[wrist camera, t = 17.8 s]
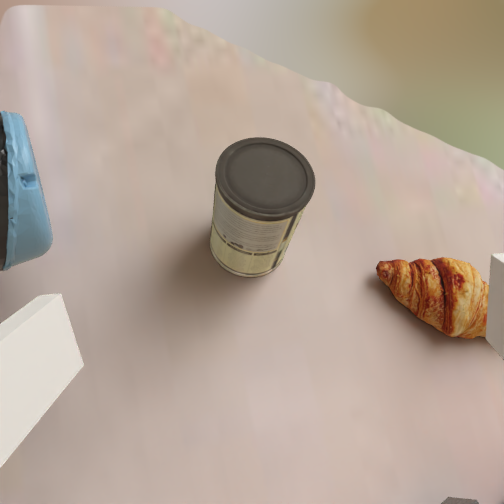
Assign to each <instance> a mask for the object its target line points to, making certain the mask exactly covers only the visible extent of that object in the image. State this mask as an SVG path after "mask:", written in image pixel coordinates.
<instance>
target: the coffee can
mask: <svg viewBox="0 0 504 504" xmlns="http://www.w3.org/2000/svg"><path fill="white" fill-rule="evenodd" d="M215 177H216V184H215V194H214V207H213V217H212V226H211V235H210V248H211V251H212V254H213V256H214V258H215V259H216V261H217V262H218V263H219V264H220V265H221V266H222V267H223V268H224V269H226V270H227V271H229V272H231V273H233V274H235V275H239V276H243V277H258V276H262V275H265V274H268V273H270V272H271V271H273V270H274V269H276V268H277V267H278V265H280V263H281V261H282V260H283V257H284V255H285V251H286V249H287V247H288V245H289V243H290V240H291V238H292V236H293V234H294V231H295V229H296V227H297V225H298V223H299V220H300V218H301V216H302V214H303V211H304V209H305V207H306V205H307V204H308V202H309V201H310V199H311V197H312V195H313V192H314V189H315V176H314V172H313V170H312V167H311V165H310V164H309V162H308V161H307V159H306V158H305V157H304V156H303V155H302V154H301V153H300V152H299V151H297V150H296V149H295V148H293V147H291V146H290V145H288V144H286V143H284V142H281V141H278V140H275V139H270V138H258V137H255V138H248V139H244V140H240V141H238V142H236V143H234V144H232V145H230V146H229V147H228V148H226V149H225V150H224V151H223V153H222V154H221V156H220V157H219V159H218V161H217V165H216V172H215Z"/></svg>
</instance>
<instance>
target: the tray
mask: <svg viewBox="0 0 504 504" xmlns="http://www.w3.org/2000/svg"><path fill="white" fill-rule="evenodd" d="M441 504H479V503H478V502H477V500H472V499H462V498H452V497H448V498H447V499H446V500H445V501H444V502H442V503H441Z"/></svg>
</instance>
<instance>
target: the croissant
mask: <svg viewBox="0 0 504 504" xmlns="http://www.w3.org/2000/svg"><path fill="white" fill-rule="evenodd" d="M376 270H377V275H378V276H379V279H380V280H382V281H383V282H384V283H385V285H387V286H388V287H389V288H390V289H391V292H392V293H393V295H394V296H395V298H396V299H397V300H398V301H399V302H400V303H402V304H403V305H404V306H406V307H407V308H409V309H410V310H411V311H412V312H413V313H414V314H415V315H416V316H417V317H418V318H419V319H421V320H423V321H425V322H426V323H428V324H431V325H432V326H434V327H435V328H436V329H438V330H439V331H441V332H443V333H444V334H446V335H448V336H450V337H455V336H457V337H462V338H467V339H473V338H475V337H476V336H481V337H486V324H487V309H488V294H489V285H487V283H486V282H484V281H482V279H481V276H480V274H479V272H478V271H477V270H476V269H475V268H473V267H472V266H471V265H470V263H465V262H463V261H459V260H455V259H452V258H443V257H442V258H437V259H433V260H426V259H418V260H415V261H413V262H410V263H408V262H407V261H405V260H399V259H397V260H392V261H380V262H379V263H378V265H377V267H376Z"/></svg>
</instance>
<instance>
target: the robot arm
mask: <svg viewBox="0 0 504 504" xmlns="http://www.w3.org/2000/svg"><path fill="white" fill-rule="evenodd" d="M52 240H53V235H52V229H51V224H50V219H49V215H48V211H47V206H46V202H45V198H44V193H43V189H42V185H41V181H40V177H39V173H38V169H37V165H36V161H35V157H34V153H33V149H32V146H31V142H30V138H29V134H28V131H27V128H26V125H25V122H24V119H23V117H22V116H21V115H20V114H17V113H8V112H5V111H2V112H0V271H5V270H8V269H10V268H11V266H14V265H17V264H20V263H23V262H26V261H29V260H32V259H35V258H38V257H40V256H42V255H44V254H45V253H46V252H47V251H48V250H49V248H50V246H51V244H52ZM486 340H487V341H488V342H489V344H490V345H491V346H492V347H493V348H494V349H495V350H496V352H497V353H498V354H499V355H500V356H501V357H502V358H503V360H504V253H500V254H491V264H490V279H489V294H488V309H487V324H486ZM83 366H84V364H83V361H82V358H81V354H80V351H79V348H78V345H77V342H76V339H75V336H74V333H73V330H72V326H71V323H70V320H69V317H68V314H67V311H66V308H65V305H64V302H63V298H62V295H61V293H59V294H48V295H39V296H38V297H36V298H35V299H33V300H32V301H31V302H29V303H28V304H27V305H25V306H24V307H23V308H21V309H20V310H18V311H17V312H16V313H14V314H13V315H12V316H10V317H9V318H7V319H6V320H5V321H3V322H2V323H1V324H0V468H1V466H2V465H3V464H4V463H5V462H6V460H7V459H8V458H9V457H10V455H11V454H12V453H13V452H14V450H15V449H16V448H17V447H18V446H19V444H20V443H21V442H22V441H23V439H24V438H25V437H26V436H27V435H28V433H29V432H30V431H31V430H32V428H33V427H34V426H35V425H36V423H37V422H38V421H39V420H40V419H41V417H42V416H43V415H44V414H45V412H46V411H47V410H48V409H49V407H50V406H51V405H52V404H53V403H54V401H55V400H56V399H57V398H58V396H59V395H60V394H61V393H62V391H63V390H64V389H65V388H66V387H67V385H68V384H69V383H70V382H71V380H72V379H73V378H74V377H75V375H76V374H77V373H78V372H79V371H80V369H81V368H82V367H83Z"/></svg>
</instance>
